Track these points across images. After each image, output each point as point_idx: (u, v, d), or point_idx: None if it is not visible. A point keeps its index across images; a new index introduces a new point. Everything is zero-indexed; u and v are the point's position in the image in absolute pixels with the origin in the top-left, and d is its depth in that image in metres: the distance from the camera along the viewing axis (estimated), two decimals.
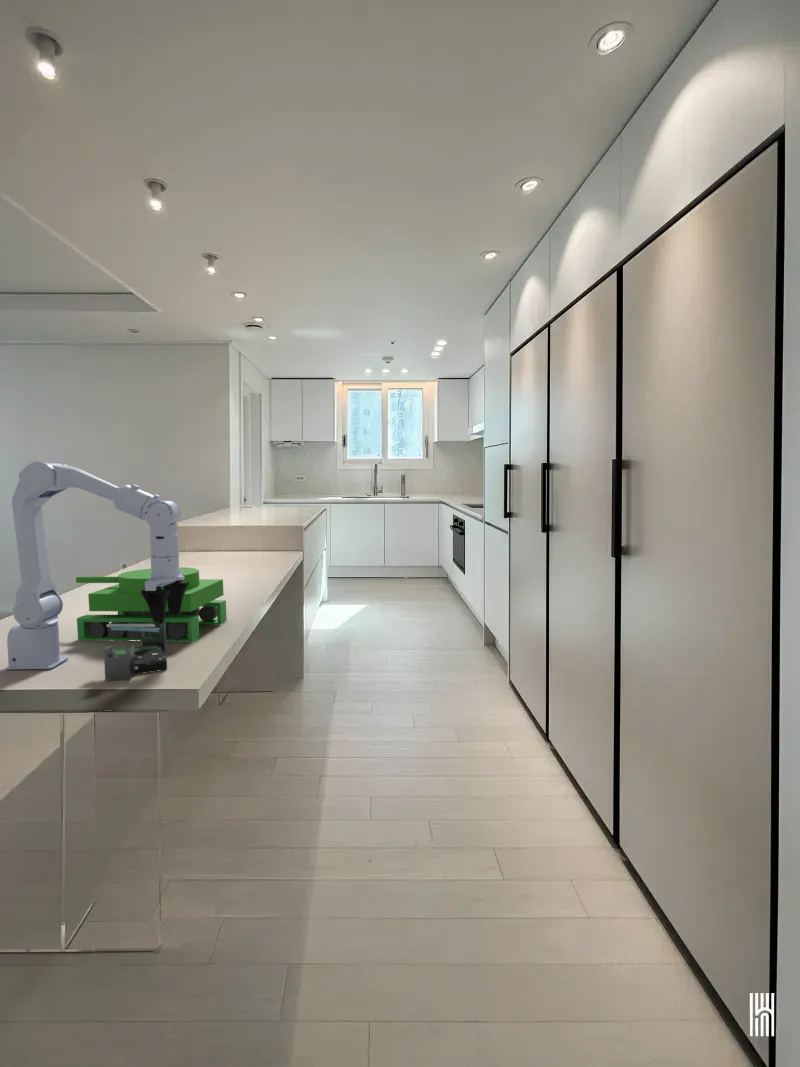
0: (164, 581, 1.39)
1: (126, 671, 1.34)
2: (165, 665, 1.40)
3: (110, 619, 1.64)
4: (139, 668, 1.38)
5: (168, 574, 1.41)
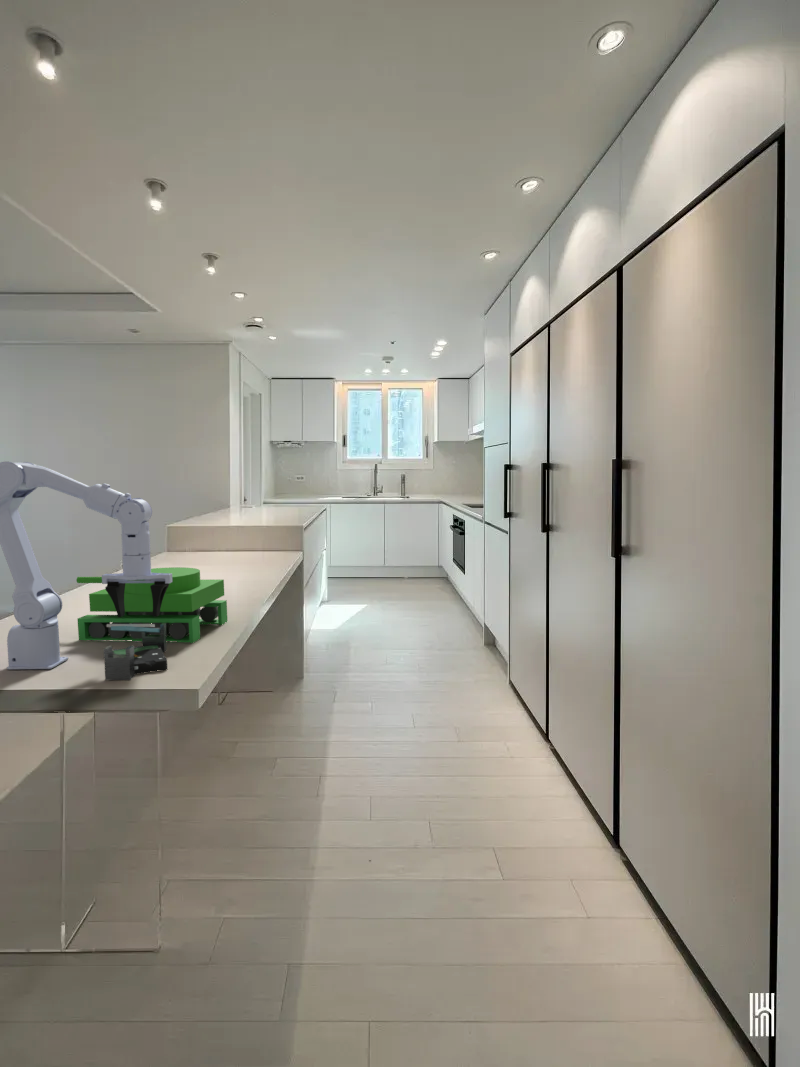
0: (114, 577, 1.42)
1: (126, 671, 1.34)
2: (165, 665, 1.40)
3: (111, 619, 1.64)
4: (139, 667, 1.38)
5: (123, 572, 1.42)
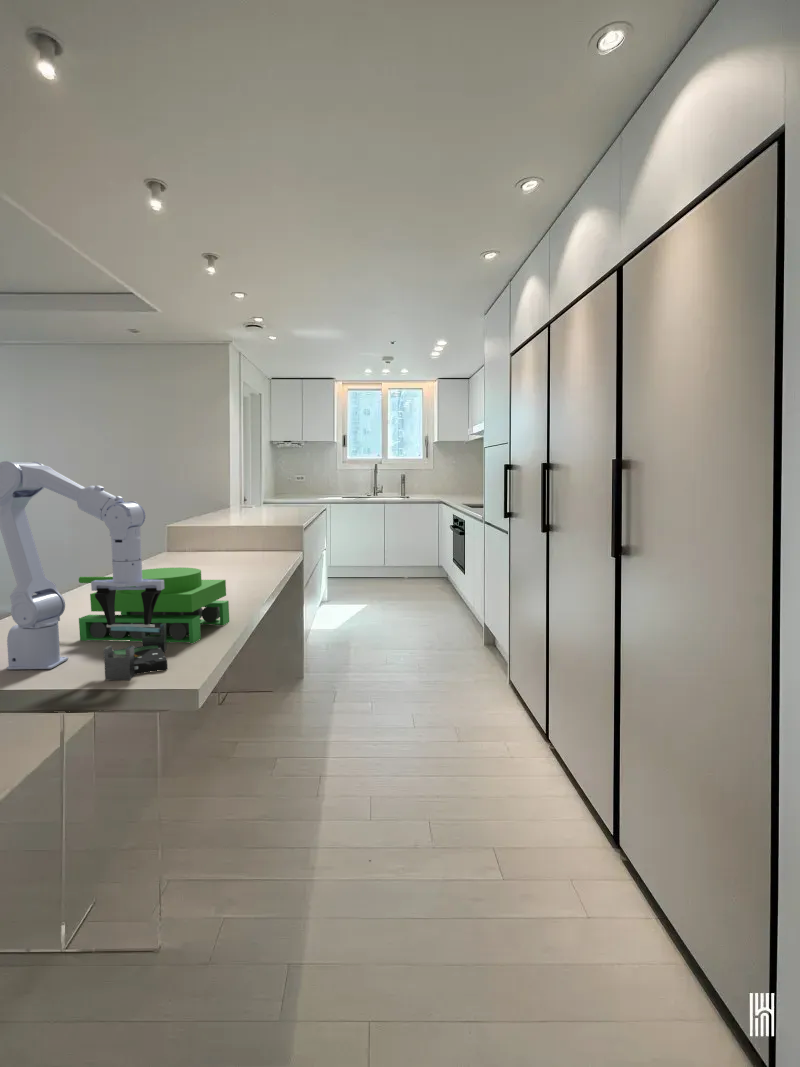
0: (104, 584, 1.37)
1: (126, 671, 1.34)
2: (165, 665, 1.40)
3: None
4: (139, 667, 1.38)
5: (113, 578, 1.37)
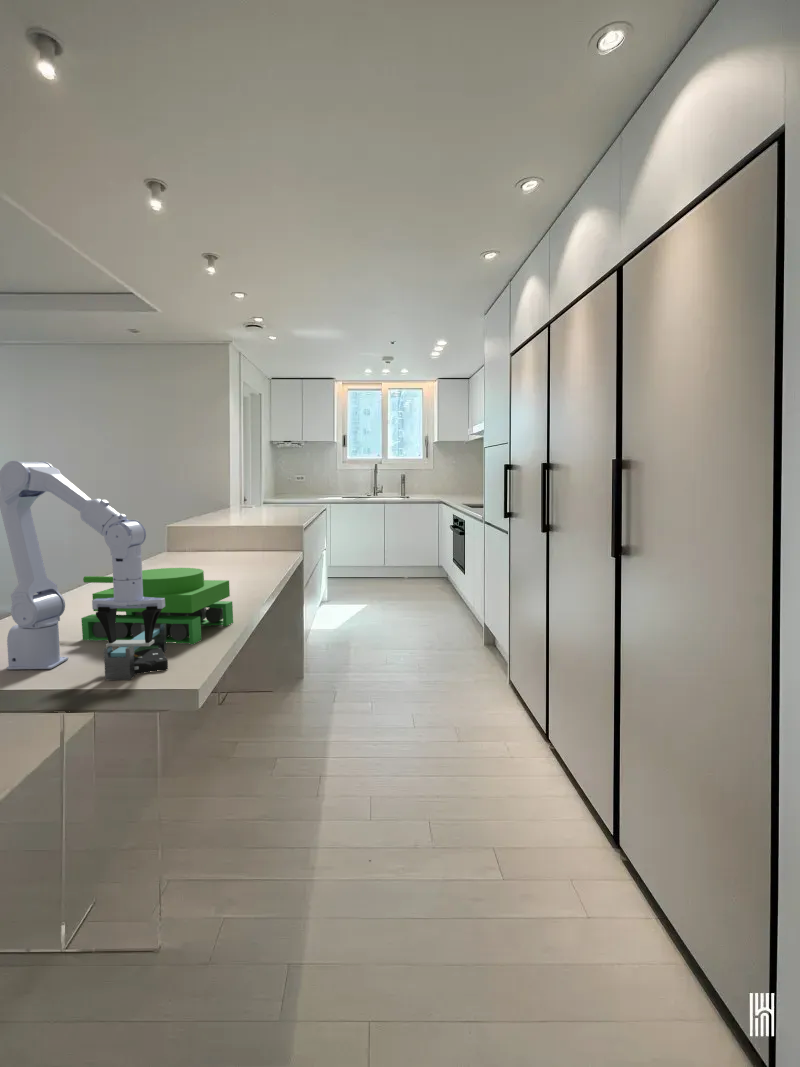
0: (105, 603, 1.38)
1: (126, 671, 1.34)
2: (166, 665, 1.40)
3: None
4: (140, 668, 1.38)
5: (114, 597, 1.38)
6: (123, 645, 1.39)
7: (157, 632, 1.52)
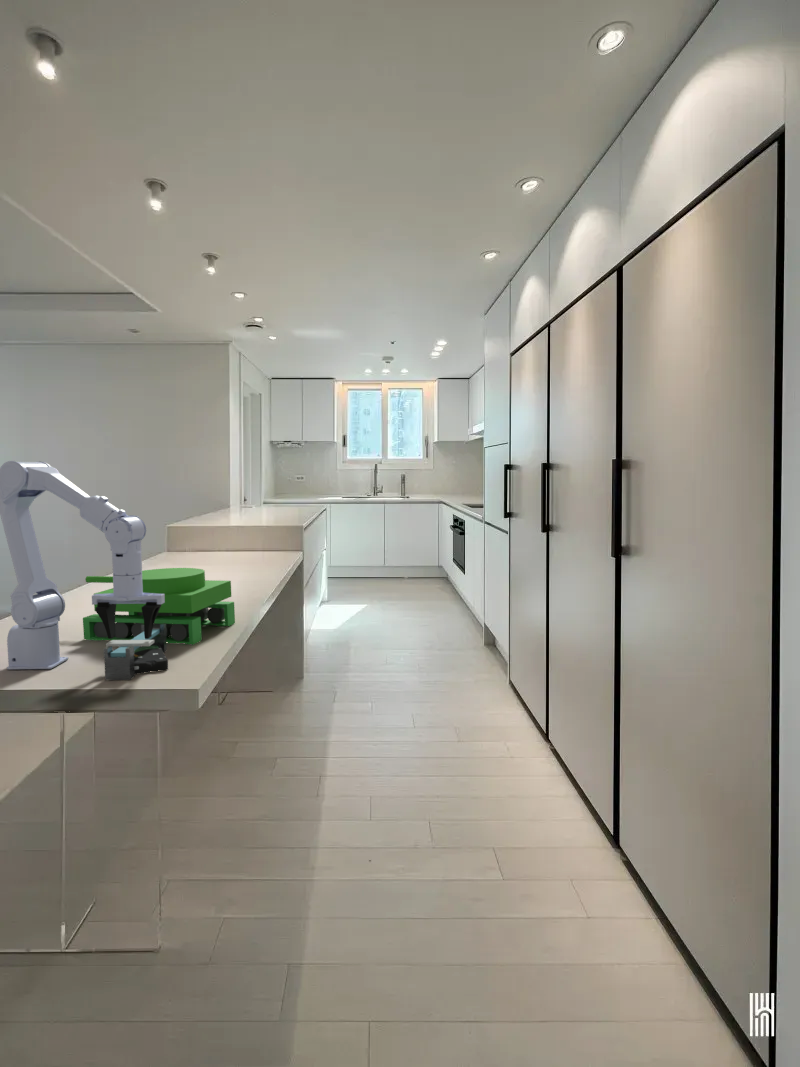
0: (105, 598, 1.38)
1: (126, 671, 1.34)
2: (166, 665, 1.40)
3: None
4: (140, 667, 1.38)
5: (114, 592, 1.37)
6: (123, 645, 1.39)
7: (157, 632, 1.52)
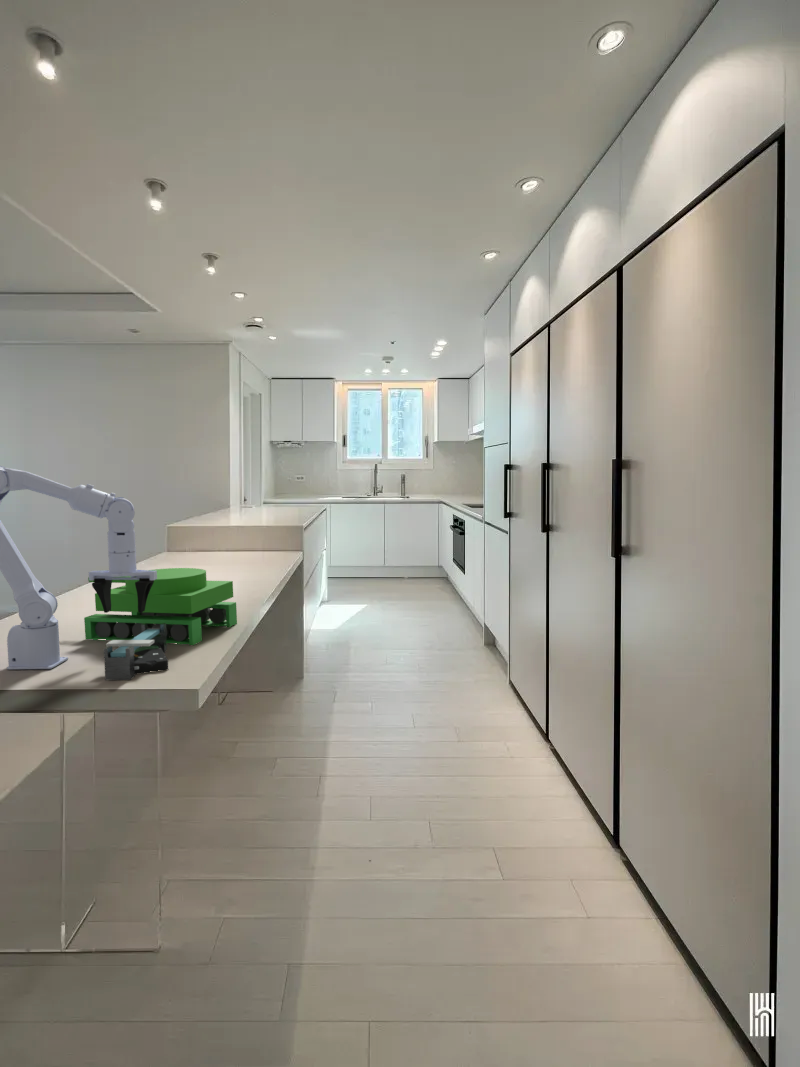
0: (101, 574, 1.47)
1: (126, 671, 1.34)
2: (166, 665, 1.40)
3: (115, 619, 1.64)
4: (140, 667, 1.38)
5: (109, 569, 1.47)
6: (123, 645, 1.39)
7: (157, 632, 1.52)
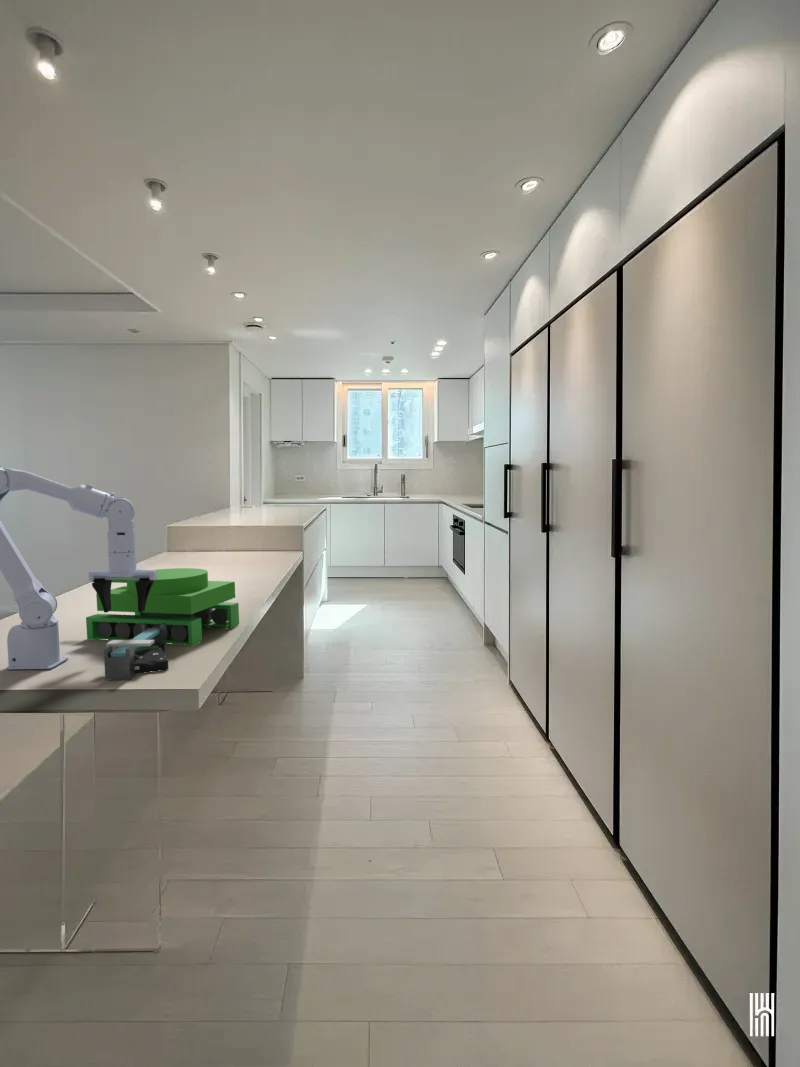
0: (101, 574, 1.47)
1: (126, 671, 1.34)
2: (166, 665, 1.40)
3: (116, 619, 1.64)
4: (141, 668, 1.38)
5: (109, 568, 1.47)
6: (123, 645, 1.39)
7: (157, 632, 1.52)
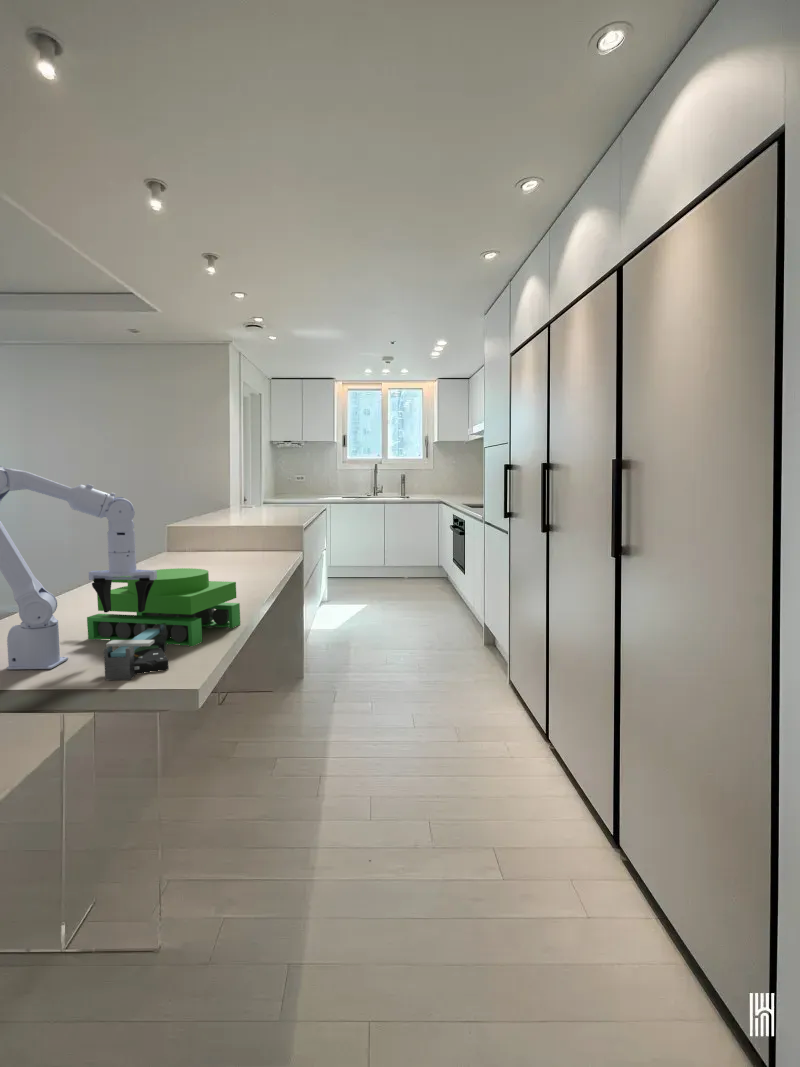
0: (101, 574, 1.47)
1: (126, 671, 1.34)
2: (166, 665, 1.40)
3: (117, 619, 1.64)
4: (141, 667, 1.38)
5: (109, 568, 1.47)
6: (123, 645, 1.39)
7: (157, 632, 1.52)
